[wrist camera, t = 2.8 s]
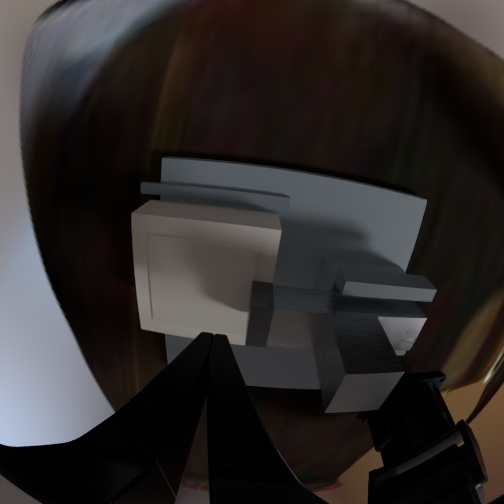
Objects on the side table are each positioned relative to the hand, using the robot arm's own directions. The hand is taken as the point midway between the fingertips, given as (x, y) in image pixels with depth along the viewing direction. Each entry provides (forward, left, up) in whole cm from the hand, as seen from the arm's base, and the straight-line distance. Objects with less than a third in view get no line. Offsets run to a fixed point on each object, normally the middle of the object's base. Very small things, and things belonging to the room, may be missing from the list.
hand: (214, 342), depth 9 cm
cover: (+1, 0, -5) cm, 5 cm away
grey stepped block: (-5, 0, -3) cm, 5 cm away
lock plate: (-3, +2, -6) cm, 7 cm away
